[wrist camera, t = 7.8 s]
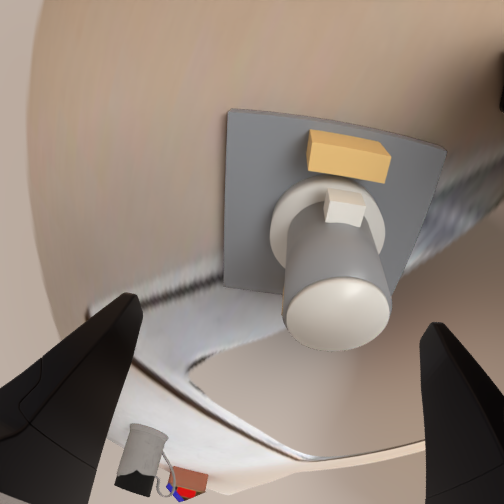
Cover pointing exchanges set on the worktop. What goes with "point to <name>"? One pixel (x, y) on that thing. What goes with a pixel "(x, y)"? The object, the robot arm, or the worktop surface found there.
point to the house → (187, 483)
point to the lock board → (285, 163)
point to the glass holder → (142, 461)
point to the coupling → (334, 276)
